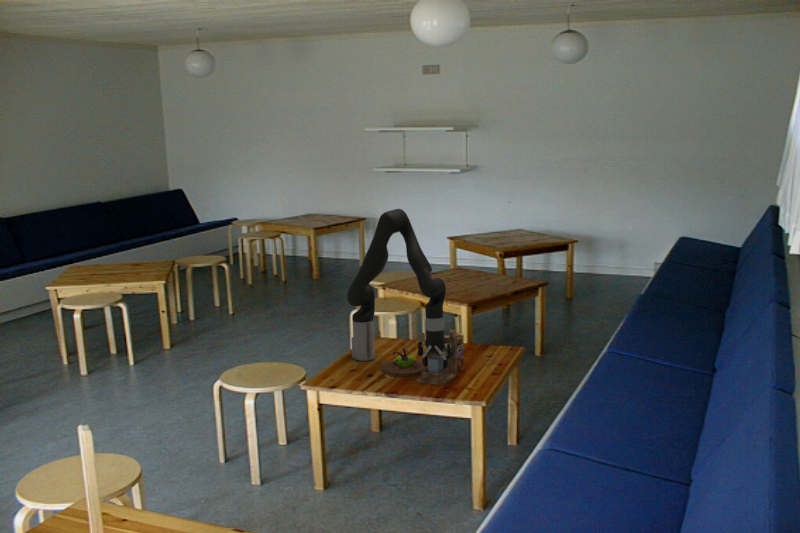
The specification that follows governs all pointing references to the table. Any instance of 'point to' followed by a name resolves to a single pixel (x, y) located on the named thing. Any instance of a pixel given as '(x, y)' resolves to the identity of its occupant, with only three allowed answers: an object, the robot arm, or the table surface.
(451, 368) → the chair
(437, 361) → the block
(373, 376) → the table surface
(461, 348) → the candy box
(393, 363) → the plant
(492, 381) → the table surface
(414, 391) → the table surface
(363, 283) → the robot arm
